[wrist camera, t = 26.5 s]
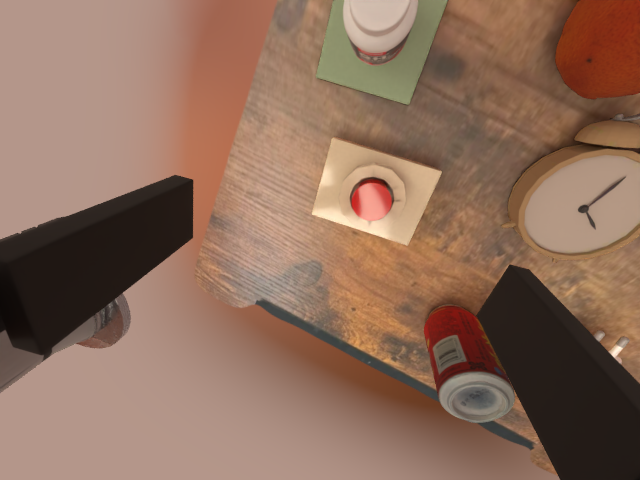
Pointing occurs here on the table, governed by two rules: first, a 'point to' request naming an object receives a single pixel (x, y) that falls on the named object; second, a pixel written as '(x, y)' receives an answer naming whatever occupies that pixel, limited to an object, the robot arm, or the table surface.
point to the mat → (385, 79)
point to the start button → (371, 200)
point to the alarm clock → (582, 194)
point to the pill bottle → (378, 27)
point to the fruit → (601, 49)
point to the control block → (368, 163)
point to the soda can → (466, 366)
